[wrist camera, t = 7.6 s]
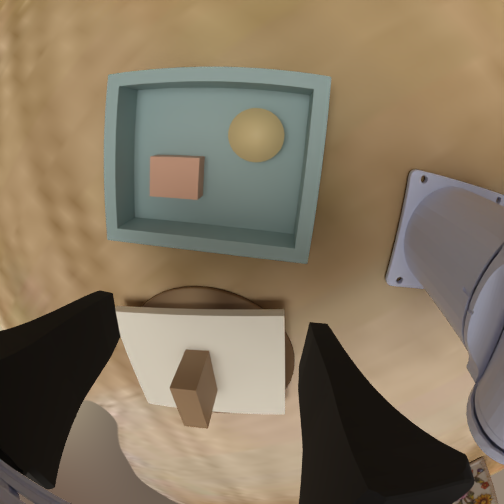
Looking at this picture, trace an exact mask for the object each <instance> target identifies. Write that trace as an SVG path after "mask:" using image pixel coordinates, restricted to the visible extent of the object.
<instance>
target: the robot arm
mask: <svg viewBox="0 0 504 504" xmlns="http://www.w3.org/2000/svg"><path fill="white" fill-rule="evenodd" d="M423 175H424V176H425V181H424V182H421V177H422V176H423ZM497 198H498V201H497V202H496V200H497ZM398 277H401V279H400V280H399V281H396V280H397V278H398ZM385 280H386V282H387V284H388V285H390V286H398V287H409V288H419V289H425V290H426V292H427V293H428V294H429V296H430V297H431V298H432V300H433V301H434V302H435V304H436V305H437V306H438V308H439V309H440V311H441V312H442V313H443V315H444V316H445V318H446V319H447V320H448V322H449V323H450V325H451V326H452V328H453V329H454V331H455V332H456V334H457V335H458V337H459V338H460V340H461V341H462V343H463V344H464V346H465V347H466V349H467V350H468V353H469V361H468V364H467V369H468V371H469V373H470V374H471V376H472V378H473V380H474V381H475V383H476V384H475V385H474V387H473V389H472V390H471V393H470V395H469V398H468V403H467V412H466V414H467V422H468V426H469V429H470V432H471V434H472V436H473V438H474V440H475V442H476V443H477V445H478V446H479V447H480V448H481V450H482V451H483V452H484V453H485V454H486V455H488V456H489V457H490V458H492V459H493V460H495V461H497V462H499V463H500V464H503V465H504V195H502V194H500V193H497V192H494V191H491V190H488V189H485V188H482V187H478V186H475V185H472V184H469V183H466V182H462V181H459V180H455V179H452V178H448V177H445V176H441V175H437V174H433V173H429V172H426V171H422V170H417V169H414V170H412V171H411V172H410V173H409V177H408V182H407V188H406V193H405V198H404V203H403V208H402V213H401V218H400V222H399V227H398V231H397V235H396V239H395V244H394V248H393V251H392V255H391V259H390V263H389V266H388V270H387V274H386V278H385ZM119 338H120V331H119V326H118V321H117V316H116V310H115V304H114V298H113V293H109V292H104V291H97V292H94V293H92V294H89V295H87V296H85V297H82V298H80V299H78V300H76V301H74V302H72V303H70V304H68V305H66V306H63V307H61V308H59V309H57V310H55V311H53V312H51V313H48V314H46V315H44V316H41V317H39V318H37V319H35V320H32V321H30V322H27V323H25V324H22V325H19V326H16V327H13V328H10V329H7V330H3V331H0V504H25V503H24V502H23V501H21V500H20V498H19V494H18V493H20V494H21V495H23V496H24V497H26V498H27V499H28V500H30V501H32V502H33V503H35V504H71V503H69V502H67V501H65V500H63V499H62V498H60V497H58V496H56V495H54V494H52V493H51V492H49V491H47V490H46V489H52V488H54V487H55V483H56V478H57V473H58V468H59V464H60V459H61V456H62V452H63V449H64V446H65V443H66V440H67V437H68V434H69V432H70V429H71V426H72V424H73V422H74V419H75V417H76V414H77V412H78V410H79V408H80V406H81V404H82V402H83V400H84V398H85V397H86V395H87V393H88V392H89V390H90V389H91V387H92V386H93V384H94V382H95V381H96V379H97V378H98V376H99V375H100V373H101V372H102V370H103V368H104V367H105V365H106V364H107V362H108V361H109V359H110V357H111V355H112V353H113V351H114V349H115V347H116V345H117V343H118V340H119ZM298 392H299V405H300V417H301V429H302V444H303V456H302V474H301V487H300V498H299V504H453V503H454V502H455V501H457V500H458V499H460V498H461V497H462V496H464V495H465V494H466V493H467V492H468V491H469V490H470V489H471V488H472V487H473V485H474V482H475V479H474V476H473V473H472V470H471V467H470V464H469V461H468V459H467V456H466V455H465V454H463V453H461V452H459V451H457V450H455V449H453V448H451V447H450V446H448V445H446V444H444V443H442V442H440V441H439V440H437V439H435V438H434V437H432V436H431V435H429V434H428V433H426V432H425V431H423V430H422V429H420V428H419V427H418V426H416V425H415V424H413V423H412V422H411V421H410V420H408V419H407V418H406V417H405V416H404V415H402V414H401V413H400V412H399V411H397V410H396V409H395V408H394V407H393V406H392V405H391V404H390V403H389V402H388V401H387V400H386V399H385V398H384V397H383V396H382V395H381V394H380V393H379V392H378V391H377V390H376V389H375V388H374V387H373V386H372V385H371V384H370V383H369V381H368V380H367V379H366V378H365V377H364V375H363V374H362V373H361V372H360V370H359V369H358V368H357V366H356V365H355V364H354V362H353V361H352V360H351V358H350V357H349V356H348V354H347V353H346V351H345V350H344V348H343V347H342V345H341V344H340V342H339V341H338V339H337V338H336V336H335V335H334V333H333V332H332V330H331V329H330V327H329V326H328V324H322V323H312V322H310V323H309V328H308V332H307V336H306V340H305V344H304V348H303V352H302V356H301V360H300V364H299V384H298ZM17 471H18V472H17ZM19 472H20V473H21V474H23V475H25V476H26V477H28V478H29V479H31V480H32V481H34V482H36V483H37V484H39V485H40V486H39V485H37V484H36V483H34V482H32V481H31V480H29V479H28V478H26V477H25V476H23V475H21V474H20V473H19ZM41 486H42V487H44V488H45V489H44V488H42V487H41Z"/></svg>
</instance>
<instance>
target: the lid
mask: <svg viewBox="0 0 504 504" xmlns="http://www.w3.org/2000/svg"><path fill="white" fill-rule="evenodd" d="M115 310H116V316H117V321H118V326H119V331H120V336H121V338H122V341H123V344H124V346H125V349H126V352H127V354H128V357H129V359H130V362H131V364H132V367H133V369H134V371H135V374H136V376H137V378H138V381H139V383H140V385H141V388H142V390H143V392H144V394H145V396H146V399H147V401H148V403H149V404H156V405H162V406H169V407H176V408H177V409H178V411H179V414H180V416H181V419H182V421H183V424H184V426H190V427H199V428H208V426H209V422H210V418H211V414H212V411H213V412H226V413H244V414H285V316H284V309H178V308H151V307H131V306H116V307H115Z"/></svg>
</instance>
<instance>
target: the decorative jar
mask: <svg viewBox="0 0 504 504" xmlns="http://www.w3.org/2000/svg"><path fill="white" fill-rule="evenodd" d="M469 464H470V467H471V470H472V473H473V476H474V479H475V482H474V485H473V487H472V488H471V489H470V490H469V491H468V492H467V493H466V494H465V495H464V496H462V497H461V498H460V499H458V500H457V501H455V502H454V503H453V504H498V501H497V497H496V494H495V490H494V486H493V483H492V480H491V477H490V474H489V471H488V469H487V466H486V463H485V460H484V458H483V457H481V458H479V459H477V460H475V461H473V462H471V463H469Z"/></svg>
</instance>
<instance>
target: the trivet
mask: <svg viewBox="0 0 504 504" xmlns="http://www.w3.org/2000/svg"><path fill="white" fill-rule="evenodd" d="M142 307H151V308H178V309H262V308H261V307H260V306H258V305H257V304H255V303H253V302H251V301H250V300H248V299H246V298H243V297H241V296H239V295H237V294H234V293H231V292H227V291H224V290H220V289H215V288H210V287H199V286H193V287H180V288H174V289H171V290H167V291H164V292H162V293H160V294H158V295H156V296H154V297H153V298H151V299H150V300H148V301H147V302H146V303H145V304H144V305H143V306H142ZM293 370H294V353H293V348H292V345H291V342H290V340H289V337H288V336H287V334H286V332H285V389H286V388H287V386H288V384H289V383H290V381H291V378H292V375H293ZM212 412H213V411H212ZM216 413H226V412H216Z"/></svg>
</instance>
